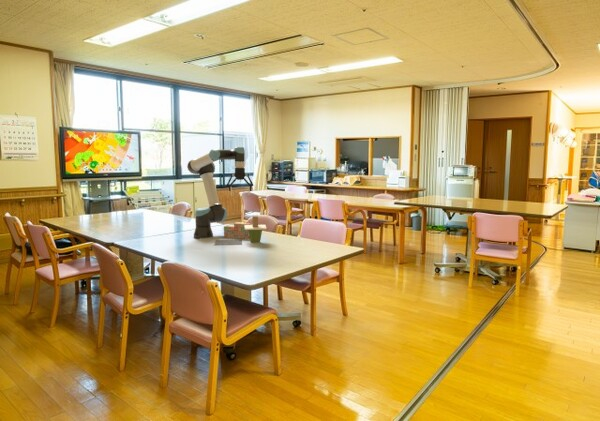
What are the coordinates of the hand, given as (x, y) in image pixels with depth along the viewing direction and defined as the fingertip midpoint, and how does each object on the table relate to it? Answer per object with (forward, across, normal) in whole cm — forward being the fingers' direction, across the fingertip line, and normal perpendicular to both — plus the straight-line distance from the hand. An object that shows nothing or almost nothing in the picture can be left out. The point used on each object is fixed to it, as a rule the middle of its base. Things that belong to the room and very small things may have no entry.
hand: (240, 195), depth 313 cm
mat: (+35, -9, -11) cm, 37 cm away
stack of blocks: (+35, -3, +9) cm, 36 cm away
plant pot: (+35, +11, -11) cm, 38 cm away
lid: (+24, +11, -11) cm, 28 cm away
